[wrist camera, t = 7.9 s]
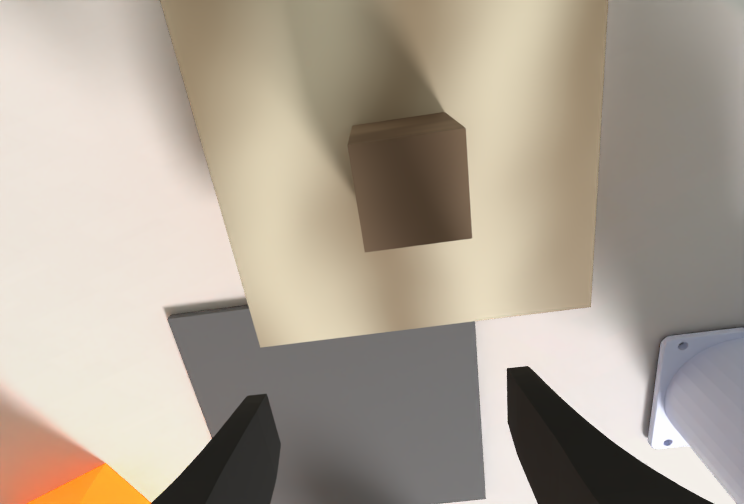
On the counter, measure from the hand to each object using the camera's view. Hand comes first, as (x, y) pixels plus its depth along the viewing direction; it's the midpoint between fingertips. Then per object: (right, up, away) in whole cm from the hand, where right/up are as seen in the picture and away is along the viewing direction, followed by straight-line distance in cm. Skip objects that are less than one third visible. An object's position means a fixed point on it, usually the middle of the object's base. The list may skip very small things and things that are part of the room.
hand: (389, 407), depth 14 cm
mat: (-2, -5, +13) cm, 14 cm away
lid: (+1, +8, +2) cm, 8 cm away
